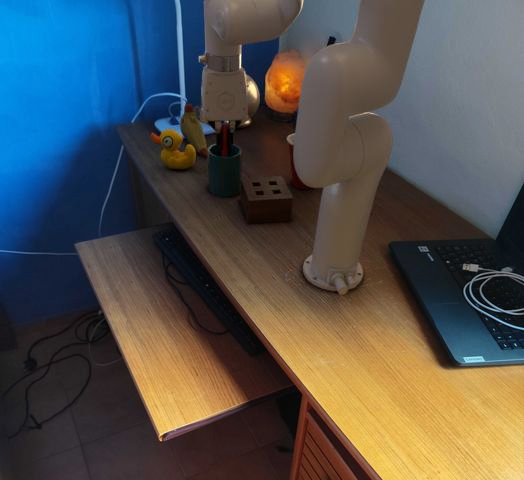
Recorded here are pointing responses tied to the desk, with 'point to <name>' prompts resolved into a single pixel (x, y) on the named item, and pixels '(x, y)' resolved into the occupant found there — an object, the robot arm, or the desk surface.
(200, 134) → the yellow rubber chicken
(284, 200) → the straw stand
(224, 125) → the straw
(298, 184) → the plastic cup
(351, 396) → the desk surface
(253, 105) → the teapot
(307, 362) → the desk surface
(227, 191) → the tumbler
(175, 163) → the duckling
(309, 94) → the robot arm
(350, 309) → the desk surface
